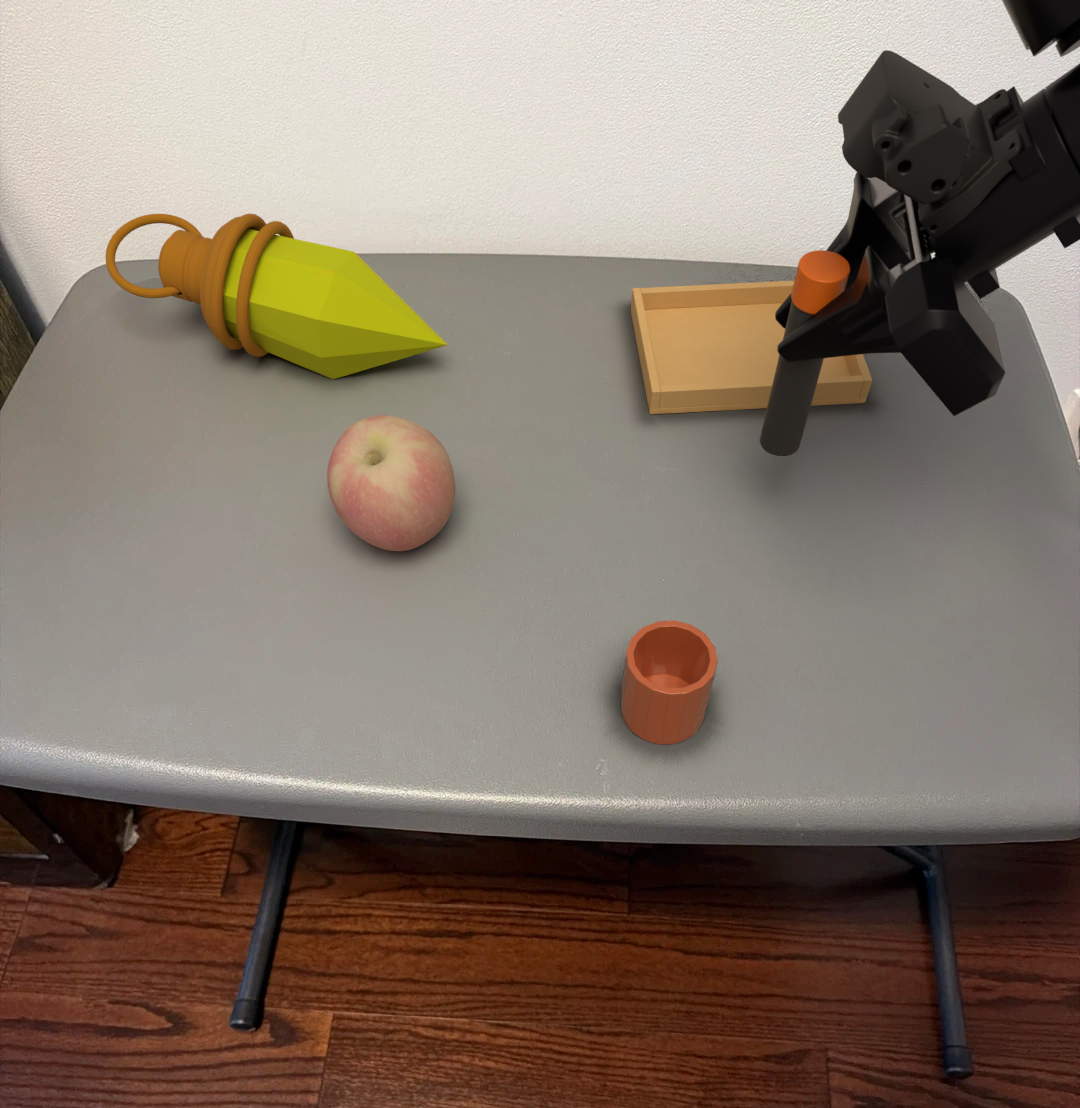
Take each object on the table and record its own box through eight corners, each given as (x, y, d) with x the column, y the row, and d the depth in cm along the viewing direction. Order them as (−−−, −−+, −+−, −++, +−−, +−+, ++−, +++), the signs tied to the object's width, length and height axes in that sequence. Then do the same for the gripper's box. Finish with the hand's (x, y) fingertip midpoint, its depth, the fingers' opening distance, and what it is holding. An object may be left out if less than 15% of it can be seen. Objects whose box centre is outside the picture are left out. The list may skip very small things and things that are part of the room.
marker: (796, 426, 65) (843, 248, 55) (805, 457, 64) (856, 280, 54) (754, 428, 65) (793, 250, 55) (762, 459, 64) (804, 282, 54)
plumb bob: (469, 333, 80) (154, 239, 81) (468, 246, 72) (115, 142, 73) (429, 434, 78) (104, 336, 79) (423, 356, 69) (57, 246, 70)
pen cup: (697, 672, 63) (709, 617, 59) (710, 741, 61) (723, 690, 56) (616, 677, 63) (622, 623, 59) (626, 747, 61) (632, 696, 56)
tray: (830, 301, 81) (836, 277, 80) (865, 403, 76) (872, 380, 74) (630, 311, 81) (632, 287, 79) (649, 414, 75) (652, 392, 73)
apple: (329, 498, 71) (307, 403, 64) (443, 475, 72) (433, 379, 65) (352, 589, 67) (330, 498, 60) (472, 563, 68) (464, 471, 61)
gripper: (959, -98, 49) (687, 132, 59) (1027, 131, 39) (686, 363, 49) (1063, 87, 55) (802, 267, 65) (1145, 324, 45) (823, 495, 55)
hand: (780, 337), depth 58 cm, fingers closed on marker, 2 cm apart
